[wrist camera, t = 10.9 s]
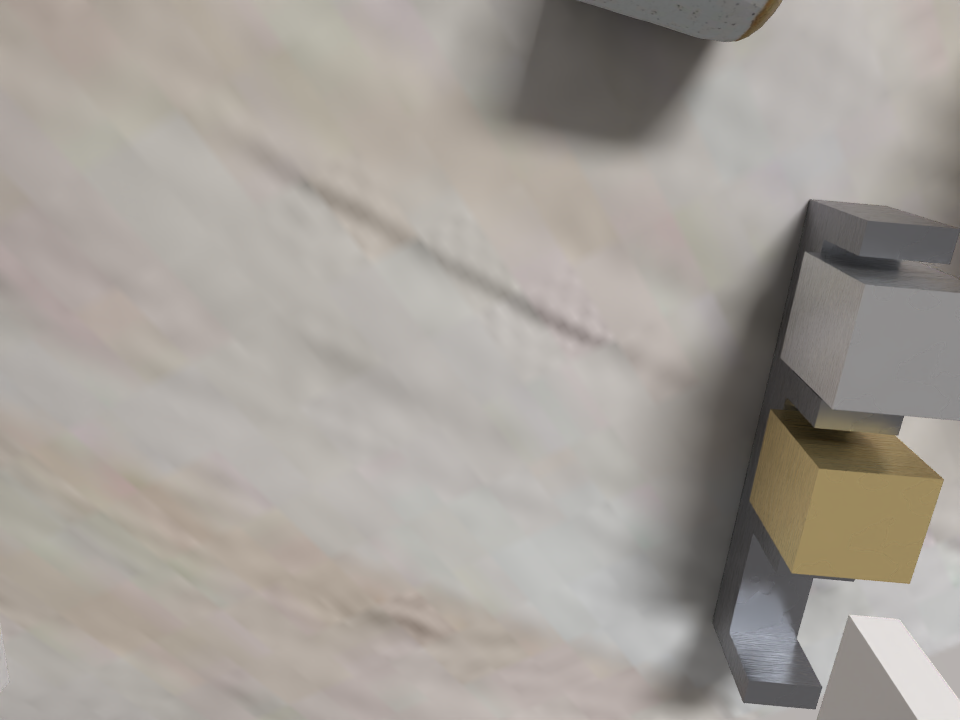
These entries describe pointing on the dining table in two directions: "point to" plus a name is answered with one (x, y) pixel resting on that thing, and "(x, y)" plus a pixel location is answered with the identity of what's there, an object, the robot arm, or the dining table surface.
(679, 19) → the ceramic mug
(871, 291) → the plain grey cube
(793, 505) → the unfinished wooden cube
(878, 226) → the rack rail
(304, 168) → the dining table surface
